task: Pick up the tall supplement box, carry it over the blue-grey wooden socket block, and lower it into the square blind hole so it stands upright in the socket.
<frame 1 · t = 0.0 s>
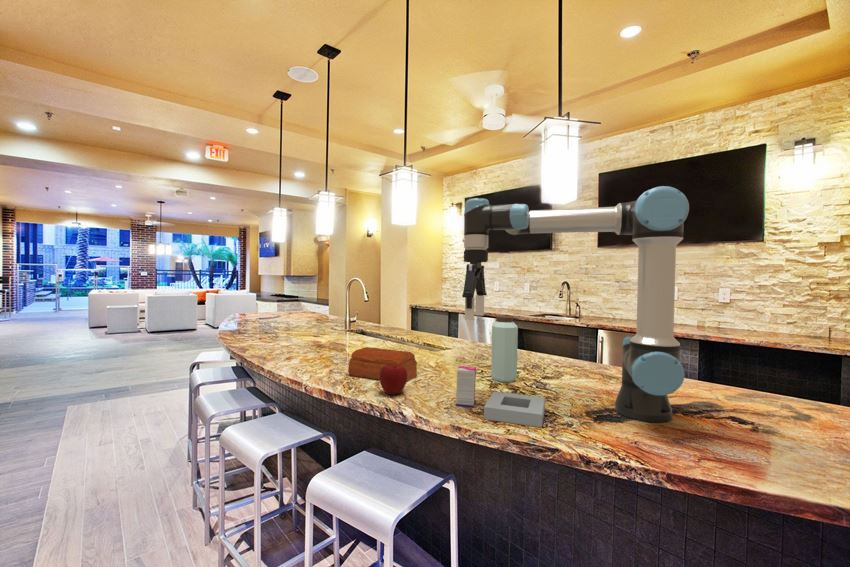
hand: (474, 317, 121), 28 cm above the counter, fingers open, 13 cm apart
bread: (382, 376, 157), on the counter
socket block: (515, 413, 115), on the counter
apple: (393, 393, 133), on the counter
supplement box: (465, 404, 124), on the counter
water bottle: (503, 380, 153), on the counter
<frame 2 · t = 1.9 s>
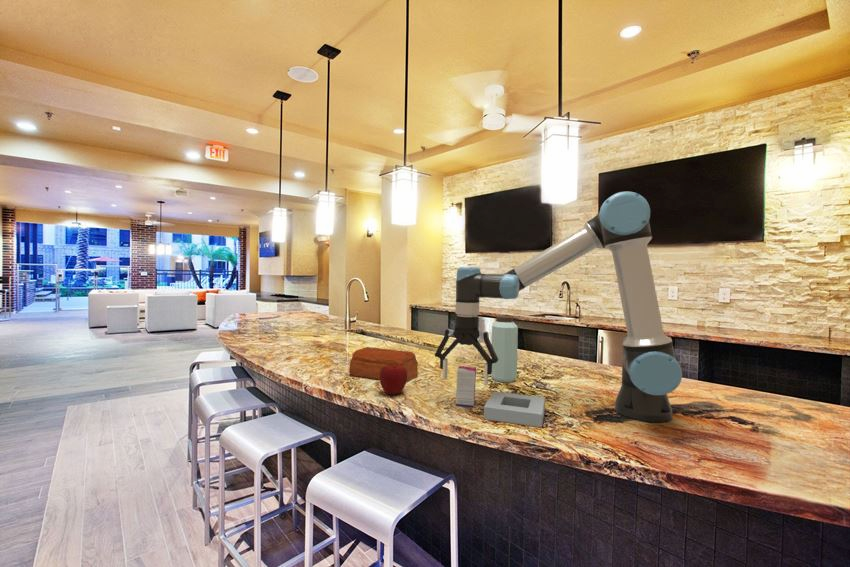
hand: (465, 381, 124), 7 cm above the counter, fingers open, 13 cm apart
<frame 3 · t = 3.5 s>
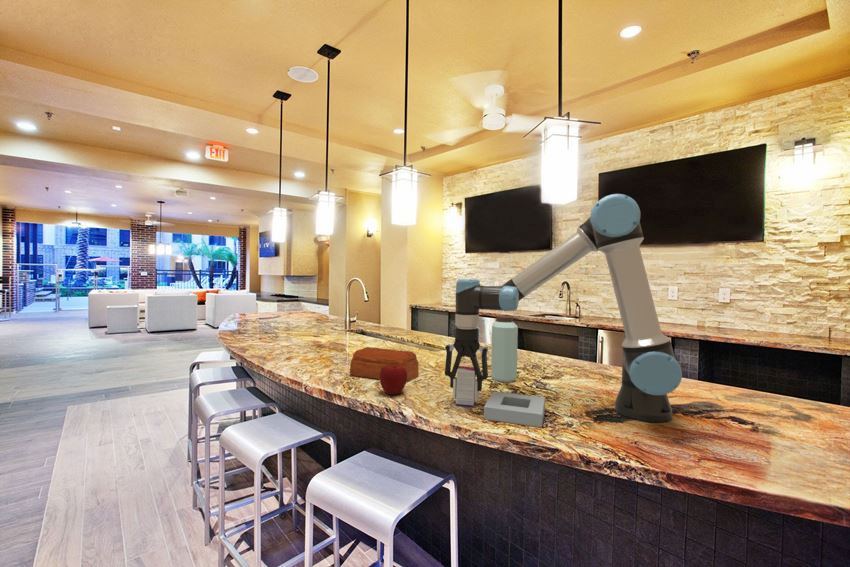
hand: (465, 399, 124), 1 cm above the counter, fingers closed on supplement box, 6 cm apart
supplement box: (465, 404, 124), on the counter, touching gripper
everything else where it was.
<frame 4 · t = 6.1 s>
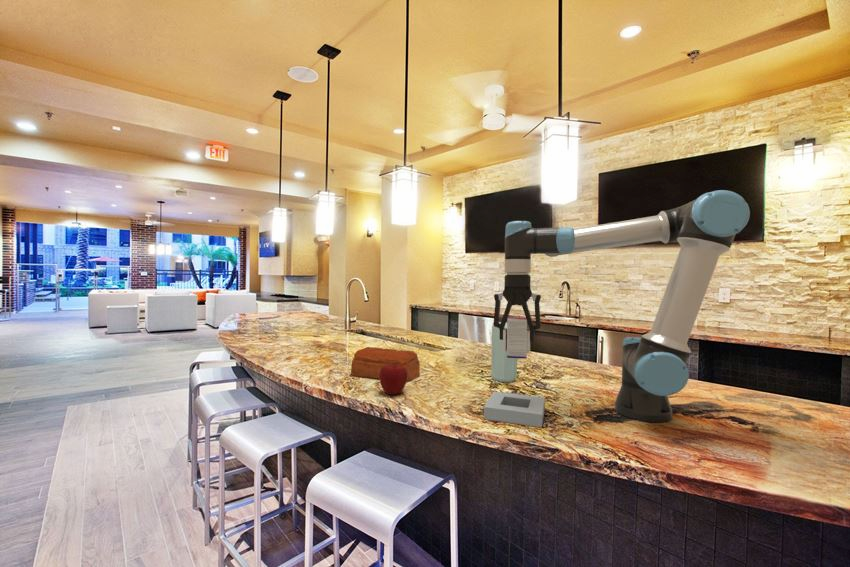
hand: (516, 351, 115), 19 cm above the counter, fingers closed on supplement box, 6 cm apart
supplement box: (516, 357, 115), point 17 cm above the counter, touching gripper
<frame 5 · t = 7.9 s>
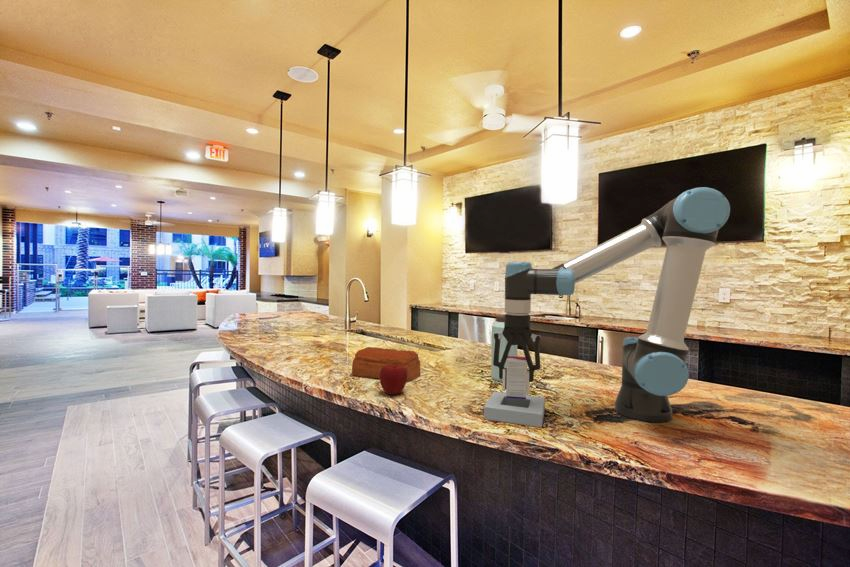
hand: (516, 390, 115), 7 cm above the counter, fingers closed on supplement box, 6 cm apart
supplement box: (516, 396, 115), point 5 cm above the counter, touching gripper
when the fingers open (4 cm above the counter, at t = 9.1 s): supplement box drops 2 cm, resting on socket block.
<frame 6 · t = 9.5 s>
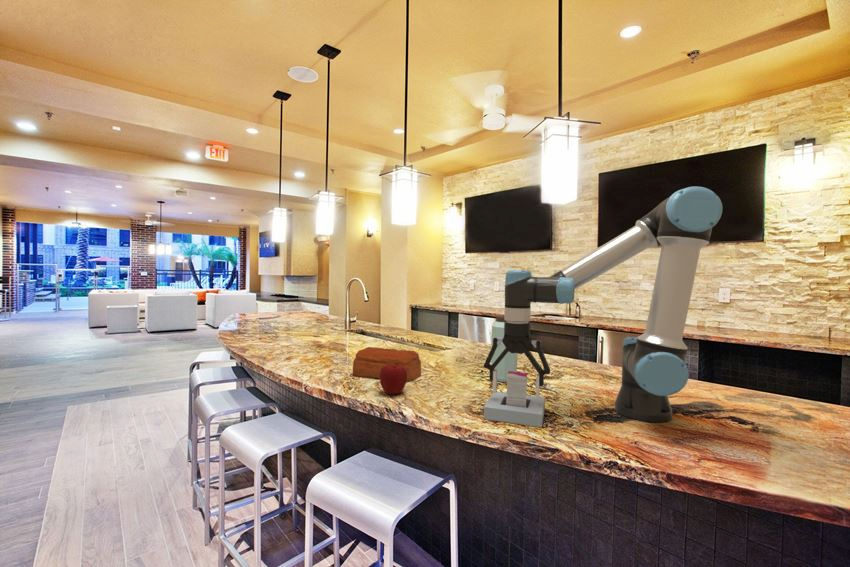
hand: (515, 394, 115), 6 cm above the counter, fingers open, 12 cm apart
supplement box: (516, 412, 115), resting on socket block
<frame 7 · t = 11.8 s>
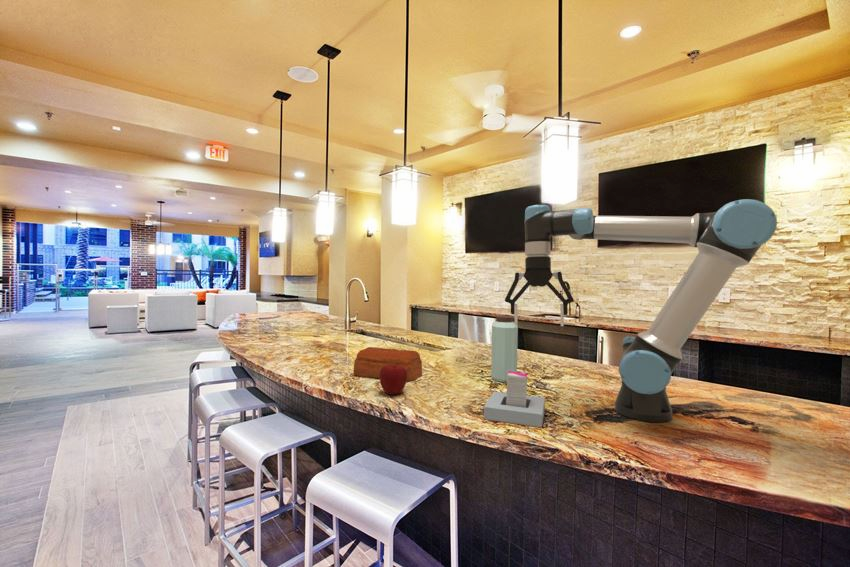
hand: (538, 325, 119), 26 cm above the counter, fingers open, 13 cm apart
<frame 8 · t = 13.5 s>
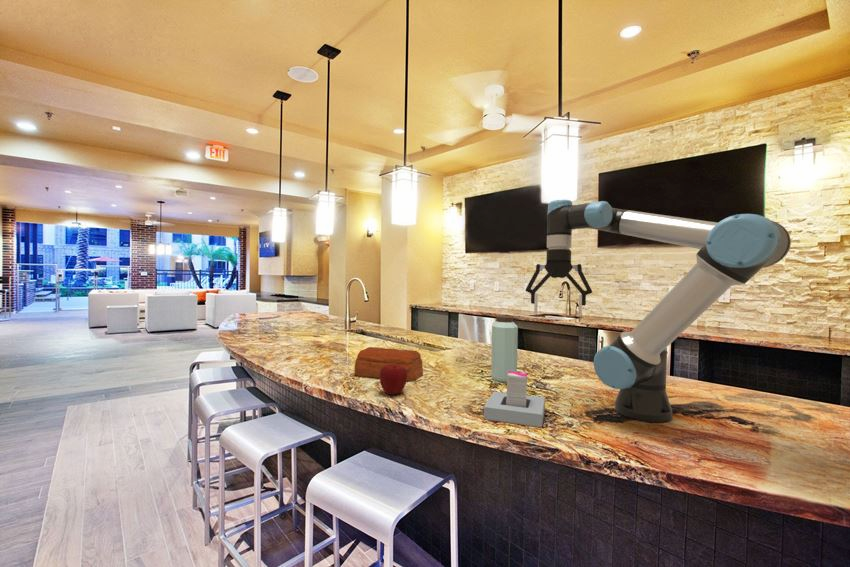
hand: (557, 314, 125), 29 cm above the counter, fingers open, 13 cm apart
at the end: supplement box 0.2 cm off-centre on the socket block, point 0.4 cm above the socket block's base; supplement box tilted 0°; the gripper is holding nothing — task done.
